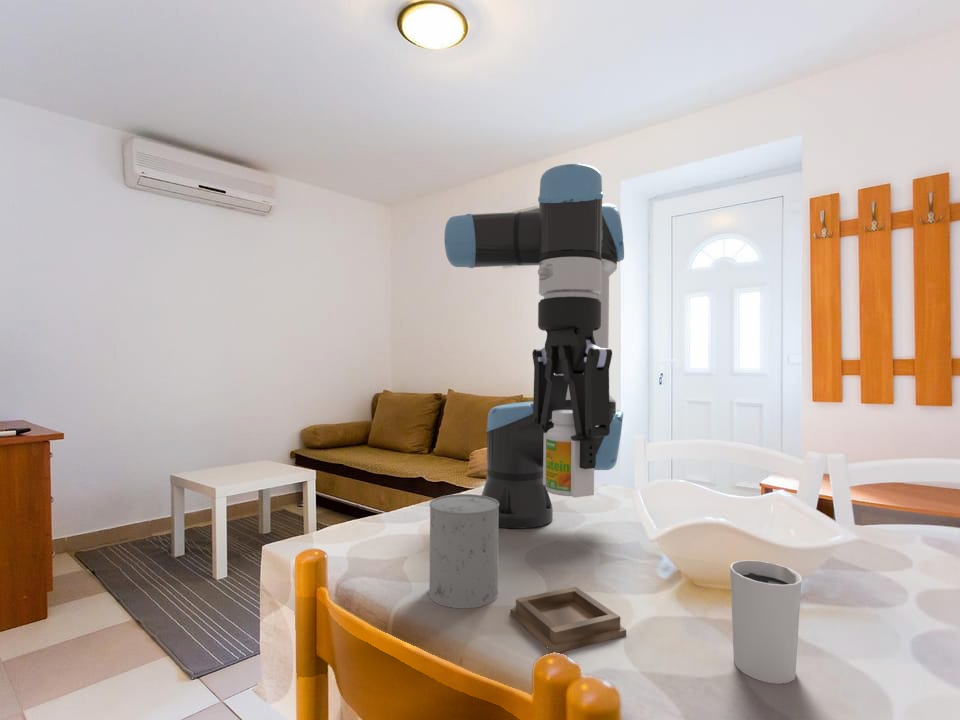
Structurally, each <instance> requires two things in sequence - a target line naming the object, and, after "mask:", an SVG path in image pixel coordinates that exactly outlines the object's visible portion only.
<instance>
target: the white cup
mask: <svg viewBox="0 0 960 720" xmlns="http://www.w3.org/2000/svg"><path fill="white" fill-rule="evenodd" d="M729 569H730V571H729V572H730V595H731V596H730V597H731V619H732V621H731V623H732V626H731V627H732V647H733V648H732V649H733V653H732V654H733V663H734V665H735V666H736V668H737V669H738V670H739V671H740V672H741V673H743V674H744V675H747V676H749V677H750V678H753V679H755V680H757V681H761V682H764V683H768V684H769V683H770V684H776V685H777V684H778V685H781V684H782V685H784V684H789V683H792V682H793V681H795V680H796V675H797V674H796V673H797V671H796V669H797V659H798V658H797V656H798V642H799V641H798V640H799V626H800V625H799V624H800V623H799V622H800V611H801V609H800V608H801V593H802V579H803V578H802V577H803V576H801V575H800V574H799V573H798V572H797V571H795V570H793V569H791V568H789V567H787V566H784V565H781V564H777V563H775V562H774V563H773V562H767V561H763V560H754V559H753V560H752V559H746V560H738V561H735V562H732V563H731V564H730V568H729ZM792 680H793V681H792ZM791 681H792V682H791ZM783 683H784V684H783Z"/></svg>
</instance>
